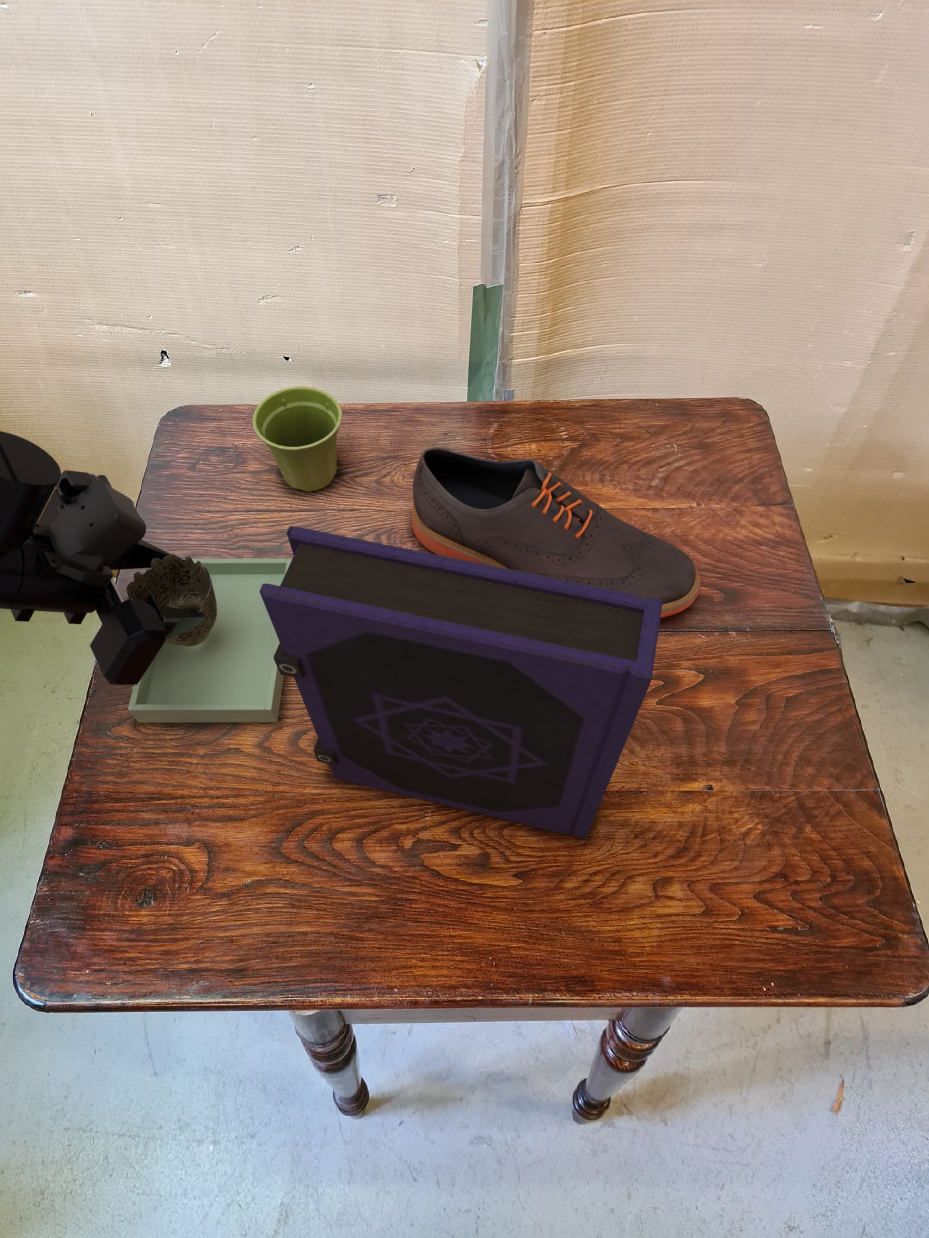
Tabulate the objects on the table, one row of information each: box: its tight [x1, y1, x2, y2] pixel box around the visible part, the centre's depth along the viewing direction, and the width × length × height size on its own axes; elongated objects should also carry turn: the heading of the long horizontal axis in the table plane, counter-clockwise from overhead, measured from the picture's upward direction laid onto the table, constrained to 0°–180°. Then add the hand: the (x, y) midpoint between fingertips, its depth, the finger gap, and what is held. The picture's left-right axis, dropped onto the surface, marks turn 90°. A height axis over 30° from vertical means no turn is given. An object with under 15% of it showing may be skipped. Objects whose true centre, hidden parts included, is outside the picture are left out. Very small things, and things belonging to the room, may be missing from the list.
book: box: [259, 525, 663, 840], centre depth 59 cm, size 24×6×30 cm, turn 76°
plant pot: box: [252, 385, 343, 492], centre depth 88 cm, size 9×9×9 cm
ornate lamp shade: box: [125, 553, 217, 647], centre depth 74 cm, size 8×7×8 cm
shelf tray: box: [127, 557, 293, 724], centre depth 78 cm, size 13×17×3 cm
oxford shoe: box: [411, 446, 702, 618], centre depth 80 cm, size 11×31×11 cm, turn 69°
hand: (186, 589), depth 72 cm, fingers closed on ornate lamp shade, 7 cm apart
